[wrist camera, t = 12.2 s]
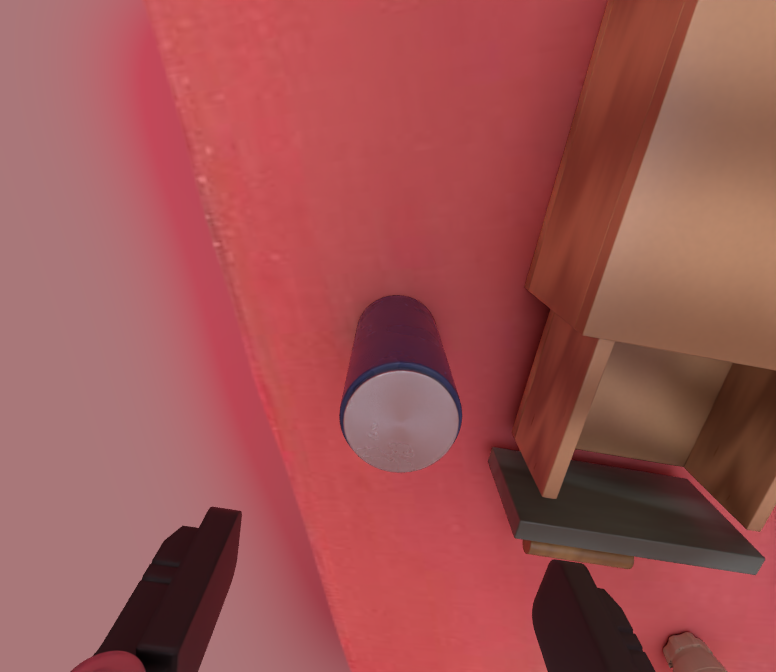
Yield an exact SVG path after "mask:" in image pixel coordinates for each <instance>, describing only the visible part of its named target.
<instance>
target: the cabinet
mask: <svg viewBox="0 0 776 672" xmlns="http://www.w3.org/2000/svg"><path fill="white" fill-rule="evenodd" d="M525 288H526V289H527V290H528V291H529V292H530V293H531V294H533V295H534V296H535V297H536V298H538V299H539V300H540V301H541V302H542V303H544V304H545V305H546V306H547V307H548V308H550V309H551V310H552V311H553V312H555V313H556V314H557V315H558V316H559V317H561V318H562V319H563V320H564V321H565V322H567V323H568V324H569V325H570V326H571V327H573V328H574V329H575V330H576V331H578V332H579V333H580V334H581V335H583V336H588V337H593V338H599V339H604V340H610V341H616V342H621V343H627V344H632V345H638V346H643V347H649V348H654V349H660V350H665V351H671V352H676V353H682V354H687V355H693V356H698V357H704V358H709V359H715V360H720V361H726V362H731V363H737V364H742V365H748V366H753V367H759V368H764V369H770V370H775V371H776V0H608V2H607V5H606V9H605V12H604V16H603V19H602V23H601V26H600V29H599V33H598V36H597V40H596V43H595V47H594V50H593V53H592V57H591V60H590V64H589V67H588V71H587V74H586V77H585V81H584V84H583V88H582V91H581V95H580V98H579V101H578V105H577V108H576V112H575V115H574V119H573V122H572V126H571V129H570V132H569V136H568V139H567V143H566V146H565V150H564V153H563V156H562V160H561V163H560V167H559V170H558V174H557V177H556V180H555V184H554V187H553V191H552V194H551V198H550V201H549V204H548V208H547V211H546V215H545V218H544V222H543V225H542V229H541V232H540V235H539V239H538V242H537V246H536V249H535V253H534V256H533V259H532V263H531V266H530V270H529V273H528V277H527V280H526V283H525Z"/></svg>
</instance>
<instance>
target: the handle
mask: <svg viewBox="0 0 776 672" xmlns="http://www.w3.org/2000/svg"><path fill="white" fill-rule="evenodd" d="M663 653H664V656H665V658H666V660H667V663H668V665H669V667H670V668H673V672H727V670H726V669H725V668H724V667H723V665H722V664H721V663H720V662H719V661H718V660H717V659H716V657H715V656H714V655H713V653H712V652H711V650H710V649H709V648H708V647H707V645H706V644H705V643H704V642H703V641H702V640H701V639H699V638H695V637H694V635H693V634H692V633H690V632H684V633H683V634H680V635H672V636H670V637H669V641H668V643H667V645H666V646H665V647H664V649H663Z"/></svg>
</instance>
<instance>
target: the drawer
mask: <svg viewBox="0 0 776 672" xmlns="http://www.w3.org/2000/svg"><path fill="white" fill-rule="evenodd" d="M512 435H513V437H514V438H515V441H516V443H517V445H518V447H519V450H520V451H515V450H509V449H503V448H497V447H492V449H491V453H490V456H489V459H488V463H489V466H490V469H491V472H492V475H493V478H494V480H495V483H496V486H497V489H498V492H499V495H500V498H501V501H502V504H503V506H504V509H505V512H506V515H507V518H508V521H509V524H510V527H511V529H512V532H513V535H514V538H517V539H523V549H524V552H525V553H526V554H531V555H538V556H544V557H551V558H557V559H564V560H571V561H577V562H584V563H590V564H597V565H604V566H610V567H617V568H624V569H631V568H632V566H633V564H634V557H641V558H647V559H654V560H660V561H667V562H674V563H680V564H687V565H693V566H700V567H706V568H713V569H719V570H726V571H732V572H739V573H746V574H752V575H756V574H757V573H758V571H759V569H760V568H761V566H762V564H763V562H764V561H765V558H764V557H763V556H762V555H761V554H760V553H759V552H758V551H757V550H756V549H755V548H754V547H753V545H752V544H751V543H750V542H749V541H748V540H747V539H746V538H745V537H744V536H743V535H742V534H741V533H740V532H739V531H738V530H737V529H736V528H735V527H734V526H733V525H732V524H731V523H730V522H729V521H728V520H727V519H726V518H725V517H724V516H723V515H722V514H721V513H720V512H719V511H718V510H717V509H716V508H715V507H714V506H713V505H712V504H711V503H710V502H709V501H708V500H707V499H706V498H705V497H704V496H703V495H702V494H701V493H700V492H699V491H698V490H697V489H696V488H695V487H694V486H693V485H692V484H691V482H690V481H689V480H688V479H685V478H679V477H673V476H667V475H661V474H655V473H649V472H643V471H636V470H630V469H624V468H618V467H612V466H606V465H600V464H594V463H588V462H582V461H576V460H571V458H572V456H573V453H574V450H575V449H579V450H585V451H591V452H597V453H603V454H609V455H615V456H621V457H627V458H633V459H639V460H645V461H651V462H657V463H663V464H669V465H675V466H681V467H684V468H685V469H686V470H687V471H688V472H689V473H690V474H691V475H692V476H693V477H694V478H695V479H696V480H697V481H698V482H699V483H700V484H701V485H702V486H703V487H704V488H705V489H706V490H707V491H708V492H709V493H710V494H711V495H712V496H713V497H714V498H715V499H716V500H717V501H718V502H719V503H720V504H721V505H722V506H723V507H724V508H725V509H726V510H727V511H728V512H729V513H730V514H731V515H732V516H733V517H735V518H736V519H737V520H738V521H739V522H740V523H741V524H742V525H743V526H744V527H745V528H746V529H747V530H752V531H758V532H760V531H761V530H762V528H763V526H764V525H765V523H766V521H767V519H768V517H769V516H770V514H771V512H772V510H773V509H774V507H775V505H776V371H775V370H770V369H764V368H759V367H753V366H748V365H742V364H737V363H731V362H726V361H720V360H715V359H709V358H704V357H698V356H693V355H687V354H682V353H676V352H671V351H665V350H660V349H654V348H649V347H643V346H638V345H632V344H627V343H621V342H616V341H610V340H604V339H599V338H593V337H588V336H583V335H581V334H580V333H579V332H578V331H576V330H575V329H574V328H573V327H571V326H570V325H569V324H568V323H567V322H565V321H564V320H563V319H562V318H561V317H559V316H558V315H557V314H556V313H555V312H553V311H552V310H551V309H550V312H549V315H548V318H547V321H546V325H545V328H544V331H543V334H542V337H541V341H540V344H539V347H538V350H537V353H536V356H535V360H534V363H533V366H532V369H531V372H530V375H529V379H528V382H527V385H526V388H525V391H524V394H523V398H522V401H521V404H520V407H519V410H518V413H517V417H516V420H515V423H514V426H513V429H512Z"/></svg>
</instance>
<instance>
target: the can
mask: <svg viewBox="0 0 776 672" xmlns="http://www.w3.org/2000/svg"><path fill="white" fill-rule="evenodd" d="M339 416H340V425H341V430H342V433H343V435H344V437H345V439H346V441H347V443H348V444H349V446H350V447H351V448H352V449H353V451H354V452H355V453H356V454H357V455H358V456H359V457H360V458H361V459H362V460H364V461H365V462H366V463H368V464H370V465H372V466H374V467H376V468H378V469H381V470H385V471H389V472H398V473H399V472H412V471H417V470H420V469H423V468H426V467H428V466H430V465H432V464H433V463H435V462H436V461H438V460H439V459H440V458H442V457H443V456H444V455H445V454H446V453H447V451H448V450H449V449H450V447H451V446H452V444H453V443H454V442H455V440H456V438H457V436H458V434H459V431H460V428H461V423H462V407H461V403H460V399H459V396H458V393H457V390H456V386H455V383H454V380H453V377H452V374H451V371H450V367H449V364H448V361H447V358H446V355H445V352H444V349H443V345H442V342H441V339H440V336H439V333H438V330H437V326H436V323H435V321H434V318H433V316H432V314H431V313H430V311H429V310H428V309H427V308H426V307H425V306H424V305H423V304H422V303H420V302H419V301H417V300H415V299H413V298H410V297H406V296H400V295H393V296H387V297H384V298H381V299H379V300H377V301H375V302H373V303H372V304H371V305H369V306H368V307H367V308H366V310H365V311H364V312H363V313H362V315H361V317H360V319H359V322H358V325H357V330H356V334H355V339H354V344H353V349H352V354H351V358H350V363H349V368H348V373H347V377H346V382H345V387H344V392H343V396H342V401H341V406H340V414H339Z"/></svg>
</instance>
